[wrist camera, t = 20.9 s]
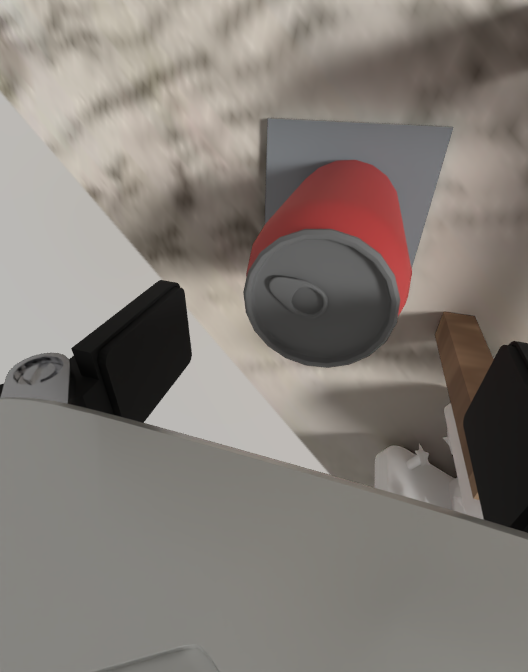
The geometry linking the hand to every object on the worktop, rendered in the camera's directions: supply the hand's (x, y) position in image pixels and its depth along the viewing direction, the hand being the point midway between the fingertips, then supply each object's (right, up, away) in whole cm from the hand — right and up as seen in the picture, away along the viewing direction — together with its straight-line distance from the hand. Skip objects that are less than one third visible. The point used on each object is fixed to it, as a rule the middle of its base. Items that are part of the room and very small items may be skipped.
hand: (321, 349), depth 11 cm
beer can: (+3, +8, +11) cm, 14 cm away
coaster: (+3, +8, +12) cm, 15 cm away
